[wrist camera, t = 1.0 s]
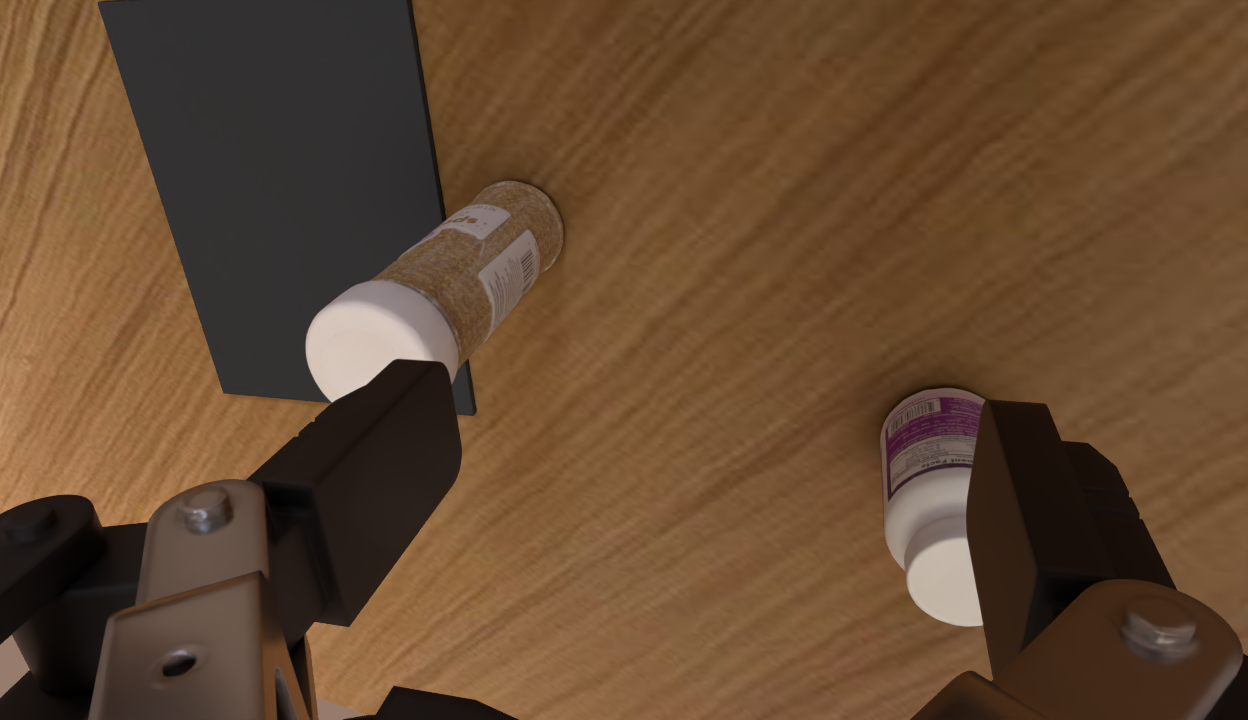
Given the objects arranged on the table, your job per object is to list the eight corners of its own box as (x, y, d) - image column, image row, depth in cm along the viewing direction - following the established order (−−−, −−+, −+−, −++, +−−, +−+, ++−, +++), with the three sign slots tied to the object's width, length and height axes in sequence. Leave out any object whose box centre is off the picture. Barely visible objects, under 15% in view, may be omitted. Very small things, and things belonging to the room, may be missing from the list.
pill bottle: (997, 490, 37) (1037, 654, 29) (874, 478, 39) (879, 632, 30) (1017, 386, 35) (1067, 533, 27) (886, 377, 36) (893, 515, 28)
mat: (103, 1, 37) (96, 1, 36) (409, -13, 33) (404, -12, 33) (227, 390, 46) (223, 393, 46) (476, 412, 43) (473, 416, 42)
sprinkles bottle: (497, 157, 36) (326, 274, 24) (585, 217, 36) (457, 361, 25) (455, 238, 38) (281, 379, 27) (538, 294, 38) (400, 457, 27)
